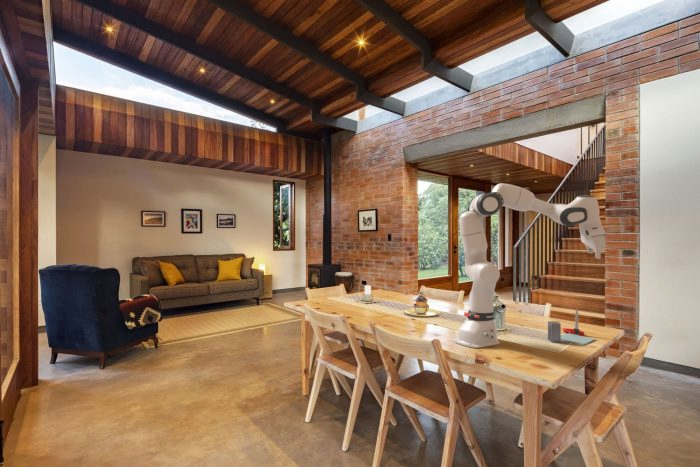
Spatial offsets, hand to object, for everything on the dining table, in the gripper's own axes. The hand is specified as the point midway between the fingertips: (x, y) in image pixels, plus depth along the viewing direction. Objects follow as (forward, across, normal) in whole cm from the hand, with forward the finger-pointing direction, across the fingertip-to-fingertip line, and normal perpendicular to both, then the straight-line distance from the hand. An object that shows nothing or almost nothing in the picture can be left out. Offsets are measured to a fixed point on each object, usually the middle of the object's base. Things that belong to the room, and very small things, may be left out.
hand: (594, 255), depth 166 cm
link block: (+35, +14, -26) cm, 46 cm away
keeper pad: (+38, +9, -15) cm, 42 cm away
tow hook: (+41, -3, -13) cm, 43 cm away
